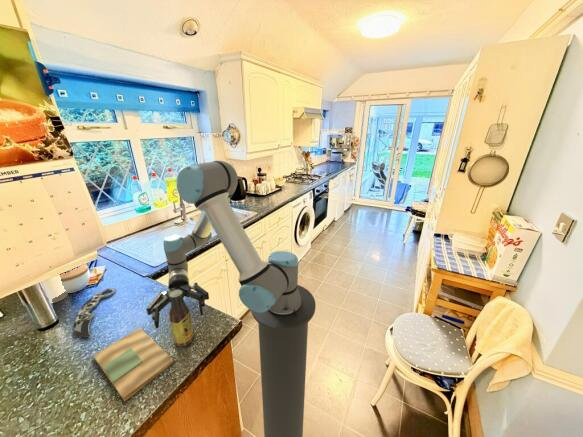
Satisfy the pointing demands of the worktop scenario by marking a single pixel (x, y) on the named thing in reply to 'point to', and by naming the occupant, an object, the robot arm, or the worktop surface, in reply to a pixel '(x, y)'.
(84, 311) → the knife
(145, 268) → the worktop surface
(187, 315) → the sauce bottle
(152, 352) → the chopping board
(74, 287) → the lidded bowl
